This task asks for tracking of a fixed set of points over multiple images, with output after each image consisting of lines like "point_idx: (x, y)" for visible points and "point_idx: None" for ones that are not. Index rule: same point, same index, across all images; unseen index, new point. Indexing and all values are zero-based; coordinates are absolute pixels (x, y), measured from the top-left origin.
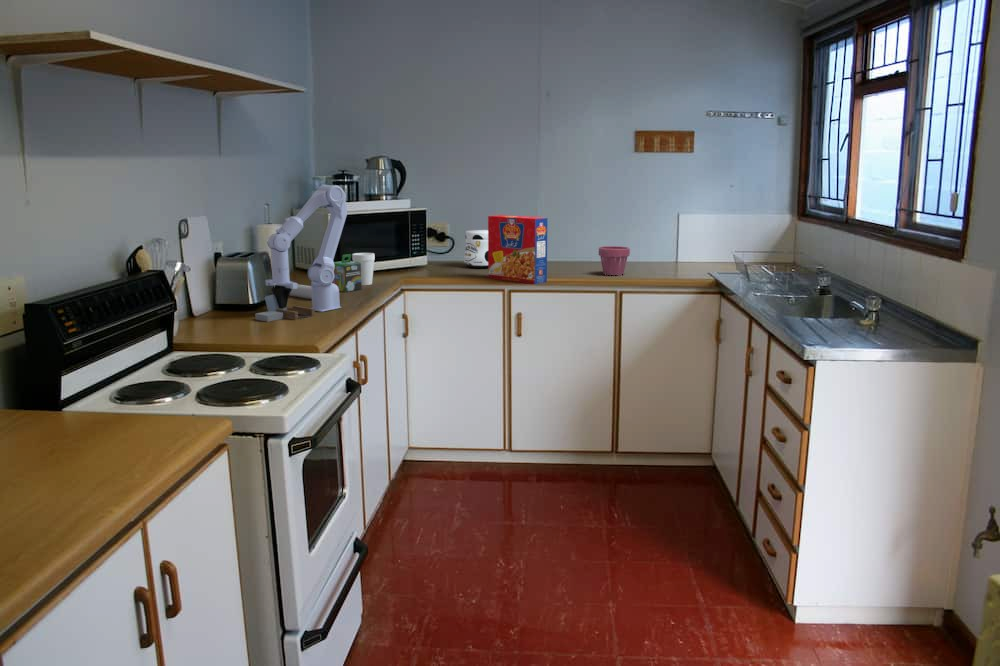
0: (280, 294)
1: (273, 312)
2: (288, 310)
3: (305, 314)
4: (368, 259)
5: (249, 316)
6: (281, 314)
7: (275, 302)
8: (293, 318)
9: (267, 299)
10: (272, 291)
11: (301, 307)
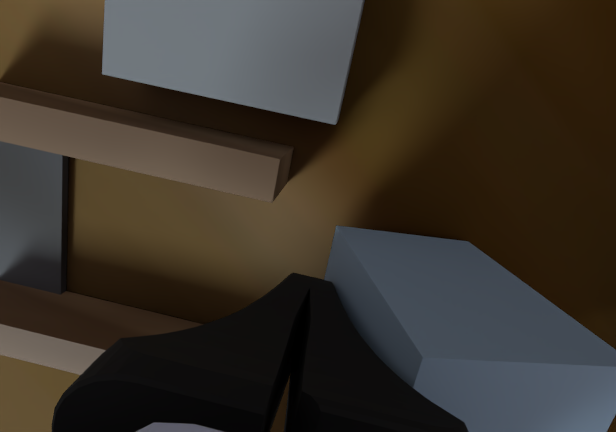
0: (183, 330)
1: (218, 35)
2: (78, 152)
3: (81, 299)
4: None
5: (599, 15)
6: (111, 48)
7: (363, 290)
8: (14, 85)
9: (543, 328)
10: (429, 405)
11: (99, 352)
